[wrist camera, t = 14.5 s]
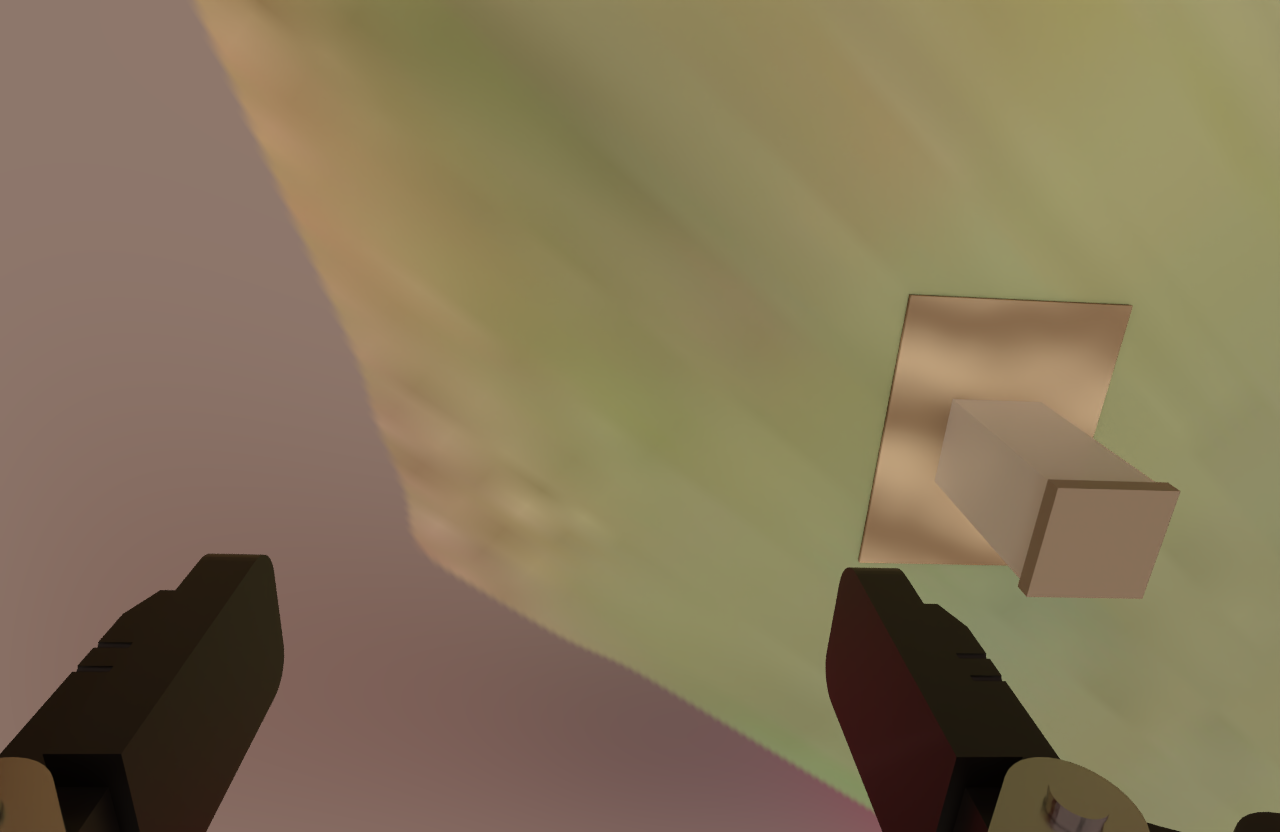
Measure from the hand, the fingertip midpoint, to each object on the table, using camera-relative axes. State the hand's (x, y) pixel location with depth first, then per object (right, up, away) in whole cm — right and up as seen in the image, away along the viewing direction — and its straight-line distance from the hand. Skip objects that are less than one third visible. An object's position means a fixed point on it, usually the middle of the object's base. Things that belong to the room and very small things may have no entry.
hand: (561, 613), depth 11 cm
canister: (+20, +1, +33) cm, 39 cm away
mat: (+21, +1, +33) cm, 39 cm away
